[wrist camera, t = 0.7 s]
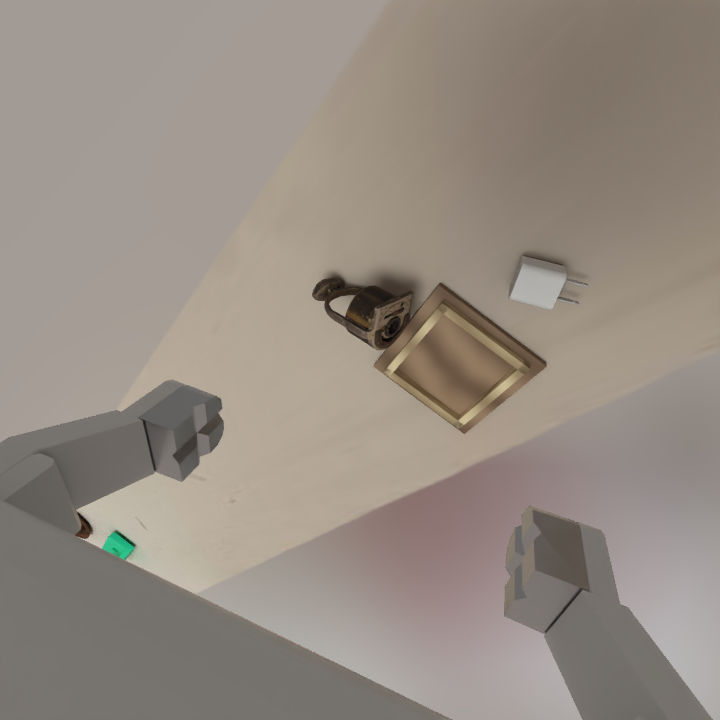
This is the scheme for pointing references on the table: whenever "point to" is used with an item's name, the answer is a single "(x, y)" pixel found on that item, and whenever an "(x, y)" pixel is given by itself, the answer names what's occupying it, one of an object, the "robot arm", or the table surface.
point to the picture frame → (457, 360)
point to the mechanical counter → (368, 311)
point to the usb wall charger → (539, 283)
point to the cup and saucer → (83, 530)
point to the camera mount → (118, 546)
